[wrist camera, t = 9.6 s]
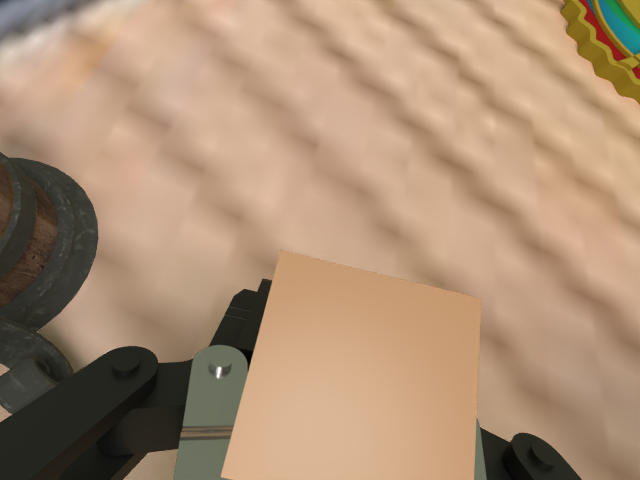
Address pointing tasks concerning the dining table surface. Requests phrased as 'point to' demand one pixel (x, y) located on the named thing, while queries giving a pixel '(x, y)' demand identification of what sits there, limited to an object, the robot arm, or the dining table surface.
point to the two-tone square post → (358, 379)
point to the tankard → (38, 271)
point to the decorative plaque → (608, 39)
